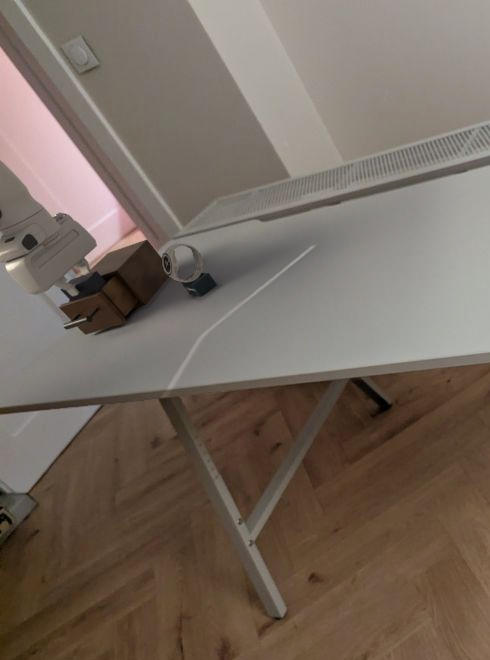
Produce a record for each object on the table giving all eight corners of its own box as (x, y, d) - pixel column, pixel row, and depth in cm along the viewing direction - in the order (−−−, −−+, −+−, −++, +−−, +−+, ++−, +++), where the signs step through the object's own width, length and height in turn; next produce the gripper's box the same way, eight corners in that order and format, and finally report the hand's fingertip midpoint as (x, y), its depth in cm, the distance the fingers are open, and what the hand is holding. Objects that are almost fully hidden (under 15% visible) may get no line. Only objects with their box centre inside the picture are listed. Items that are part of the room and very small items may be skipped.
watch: (182, 299, 119) (149, 257, 112) (211, 278, 123) (180, 236, 117) (194, 302, 116) (161, 259, 109) (223, 280, 120) (193, 237, 113)
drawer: (112, 336, 114) (85, 307, 109) (73, 348, 116) (44, 320, 111) (151, 289, 128) (129, 262, 123) (115, 301, 130) (92, 274, 125)
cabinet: (145, 304, 124) (116, 270, 118) (104, 317, 126) (74, 284, 121) (172, 272, 135) (147, 239, 130) (134, 284, 138) (107, 252, 132)
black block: (72, 302, 116) (59, 289, 114) (82, 292, 119) (70, 279, 117) (98, 293, 115) (86, 280, 113) (108, 283, 118) (96, 270, 116)
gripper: (51, 213, 116) (97, 266, 125) (-14, 260, 101) (44, 317, 109) (75, 204, 115) (120, 258, 123) (12, 251, 99) (69, 309, 108)
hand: (84, 286), depth 116 cm, fingers closed on black block, 4 cm apart
